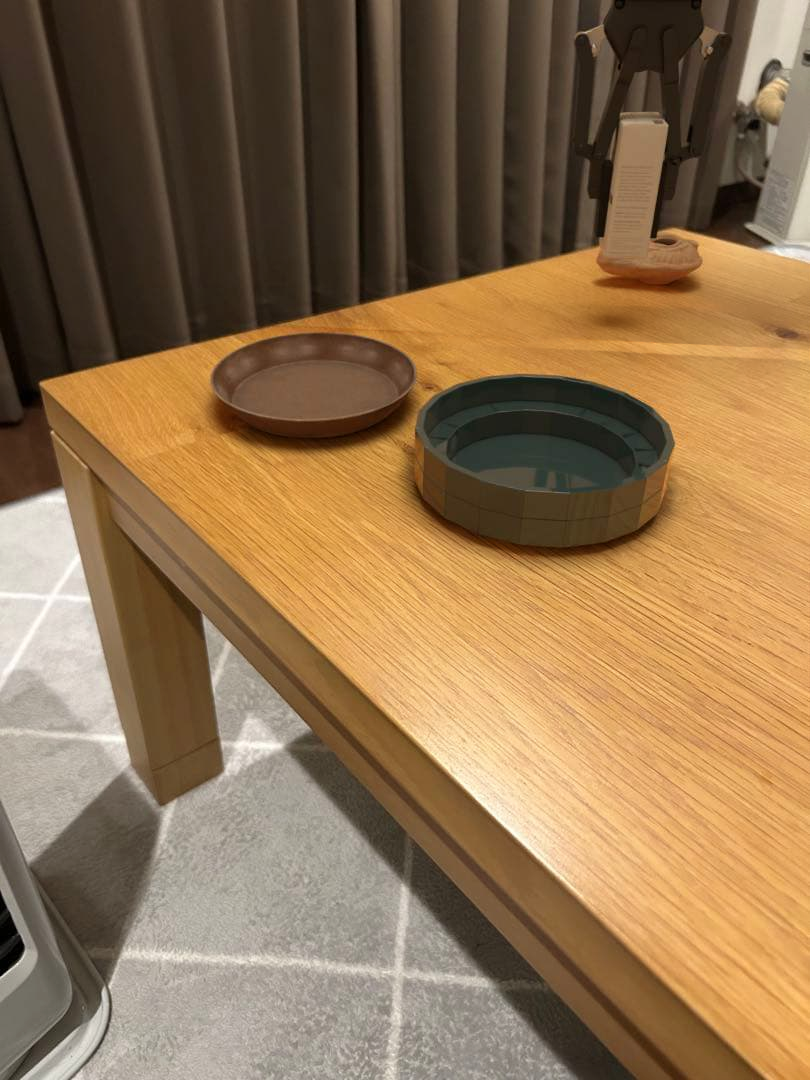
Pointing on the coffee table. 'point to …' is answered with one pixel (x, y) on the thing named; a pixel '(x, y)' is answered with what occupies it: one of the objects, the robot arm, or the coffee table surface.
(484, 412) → the bowl
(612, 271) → the pottery oil lamp
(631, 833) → the coffee table surface
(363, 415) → the plant saucer
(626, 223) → the cosmetic box
